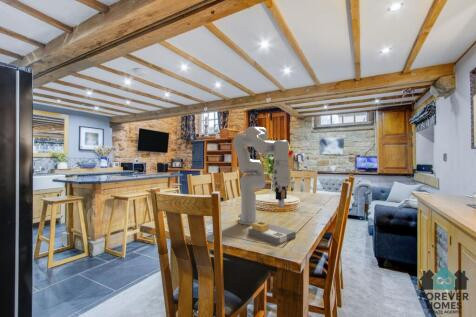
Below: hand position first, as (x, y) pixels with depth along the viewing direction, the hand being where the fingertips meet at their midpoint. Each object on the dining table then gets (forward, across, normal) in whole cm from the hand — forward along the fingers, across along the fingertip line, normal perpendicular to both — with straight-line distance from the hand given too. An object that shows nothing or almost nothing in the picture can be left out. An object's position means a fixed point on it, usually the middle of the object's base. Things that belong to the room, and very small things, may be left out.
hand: (281, 198), depth 120 cm
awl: (+4, 0, 0) cm, 4 cm away
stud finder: (+18, -2, +12) cm, 22 cm away
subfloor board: (+21, +1, +7) cm, 23 cm away
